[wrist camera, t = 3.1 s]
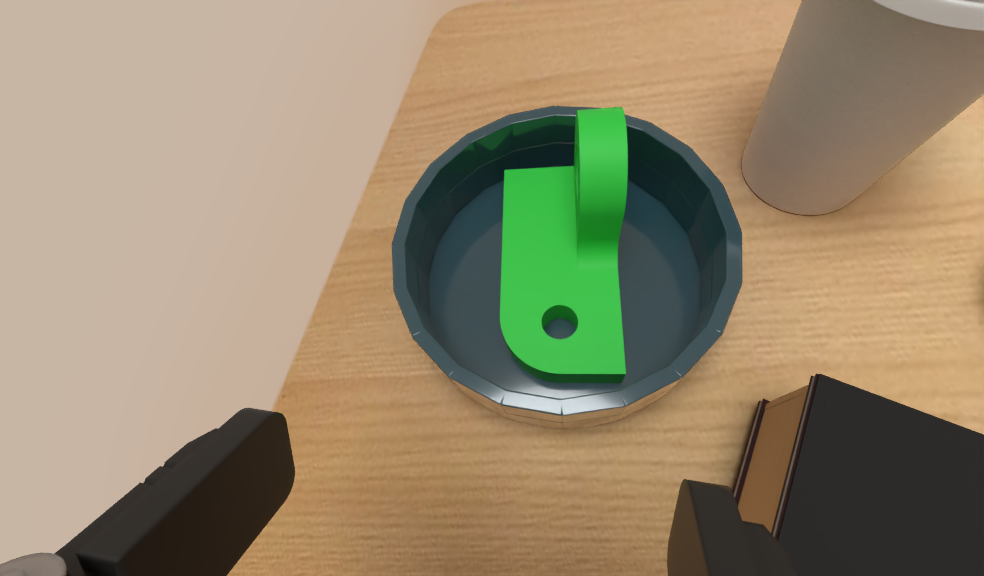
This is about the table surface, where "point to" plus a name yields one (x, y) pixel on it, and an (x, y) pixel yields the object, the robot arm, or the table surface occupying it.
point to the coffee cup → (860, 96)
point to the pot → (644, 308)
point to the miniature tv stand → (864, 484)
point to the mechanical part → (568, 256)
